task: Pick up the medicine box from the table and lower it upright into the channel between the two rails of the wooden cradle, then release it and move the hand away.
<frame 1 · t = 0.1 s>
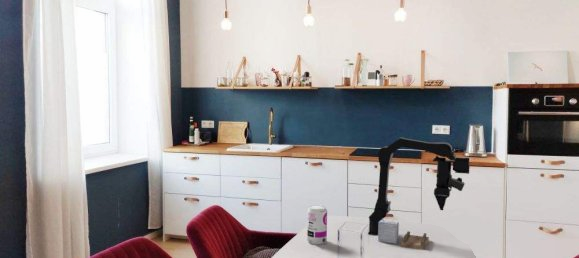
hand: (442, 207, 208), 15 cm above the table, tool pointing down, fingers open, 9 cm apart
medicine box: (388, 242, 208), on the table
cradle: (414, 243, 205), on the table
supplement can: (316, 242, 206), on the table
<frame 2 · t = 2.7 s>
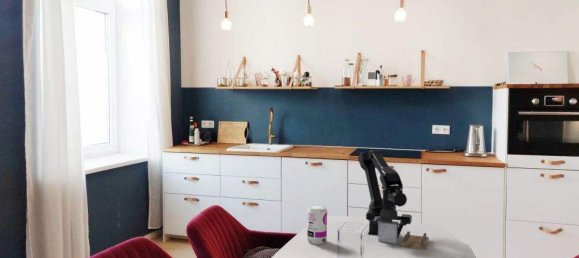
hand: (388, 236, 207), 2 cm above the table, tool pointing down, fingers closed on medicine box, 8 cm apart
medicine box: (388, 241, 208), on the table, touching gripper
everything else where it was.
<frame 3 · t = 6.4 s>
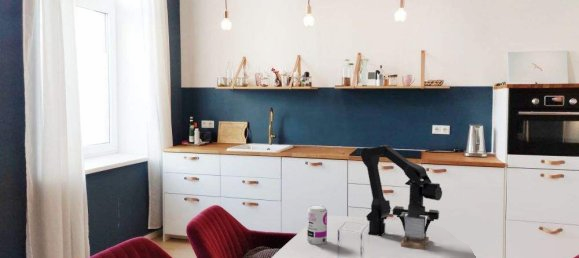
hand: (415, 232, 205), 5 cm above the table, tool pointing down, fingers closed on medicine box, 8 cm apart
medicine box: (414, 236, 205), point 3 cm above the table, touching cradle, gripper
everything else where it was.
when the fingers open (5 cm above the table, at t = 7.0 s): medicine box stays where it is, resting on cradle.
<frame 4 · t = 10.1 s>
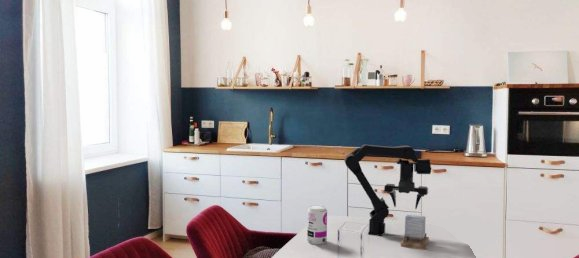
hand: (405, 208, 218), 12 cm above the table, tool pointing down, fingers open, 9 cm apart
medicine box: (414, 236, 205), point 3 cm above the table, touching cradle
everything else where it was.
at the end: medicine box 0.1 cm off-centre on the cradle, point 2.8 cm above the cradle's base; medicine box tilted 0°; the gripper is holding nothing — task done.
